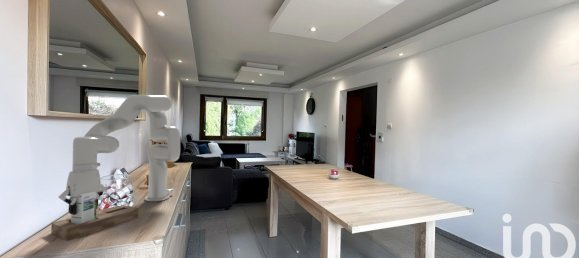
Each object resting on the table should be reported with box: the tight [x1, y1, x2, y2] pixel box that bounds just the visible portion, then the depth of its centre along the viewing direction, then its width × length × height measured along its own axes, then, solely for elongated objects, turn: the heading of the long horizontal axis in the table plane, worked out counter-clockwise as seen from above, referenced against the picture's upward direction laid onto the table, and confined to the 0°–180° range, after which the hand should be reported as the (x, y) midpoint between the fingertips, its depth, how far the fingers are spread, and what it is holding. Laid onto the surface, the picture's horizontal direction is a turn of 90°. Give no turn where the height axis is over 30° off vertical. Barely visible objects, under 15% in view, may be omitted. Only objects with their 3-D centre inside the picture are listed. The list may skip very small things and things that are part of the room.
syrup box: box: [70, 192, 97, 225], centre depth 97 cm, size 6×6×14 cm
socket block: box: [50, 204, 139, 241], centre depth 102 cm, size 12×26×4 cm, turn 155°
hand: (83, 210), depth 97 cm, fingers closed on syrup box, 6 cm apart
